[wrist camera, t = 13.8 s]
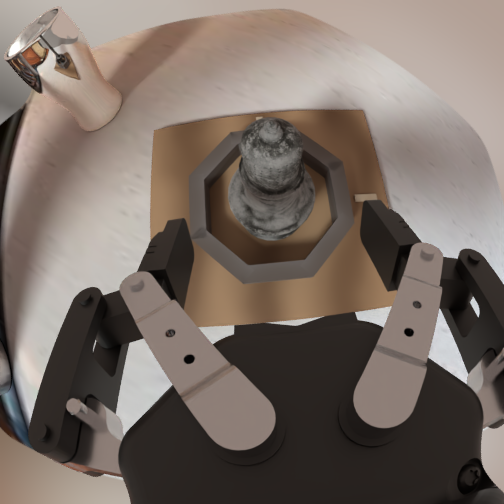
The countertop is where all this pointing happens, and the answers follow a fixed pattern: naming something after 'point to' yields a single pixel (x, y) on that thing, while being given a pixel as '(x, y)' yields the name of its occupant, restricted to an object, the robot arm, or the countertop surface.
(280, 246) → the socket plate
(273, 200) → the grey turned stone piece
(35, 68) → the beer glass
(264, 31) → the countertop surface
